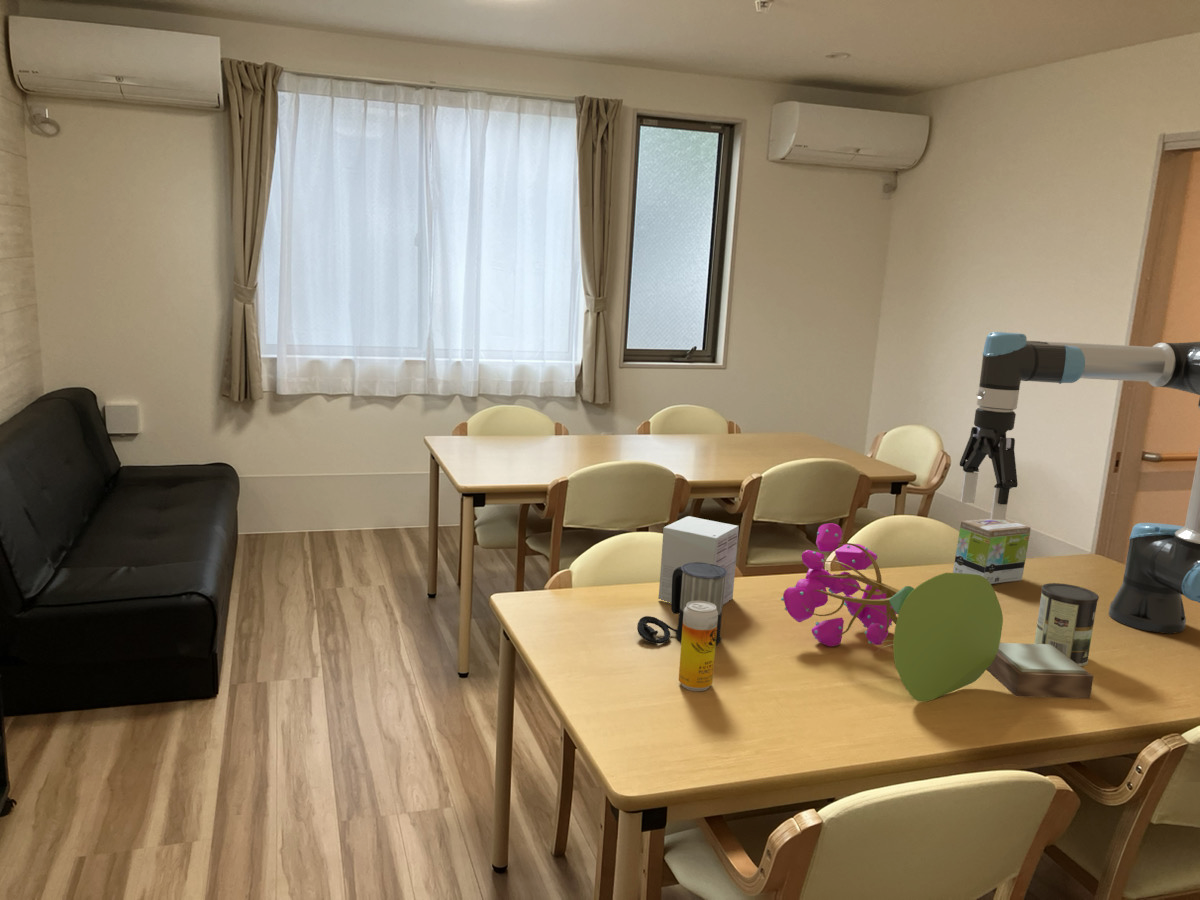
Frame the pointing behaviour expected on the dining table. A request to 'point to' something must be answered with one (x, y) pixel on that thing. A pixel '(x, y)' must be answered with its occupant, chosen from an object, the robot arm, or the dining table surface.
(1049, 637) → the coffee can
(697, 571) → the milk frother
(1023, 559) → the tea box
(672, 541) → the supplement box
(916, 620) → the magenta flower sprig
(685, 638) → the beer can
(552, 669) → the dining table surface
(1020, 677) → the tray
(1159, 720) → the dining table surface
